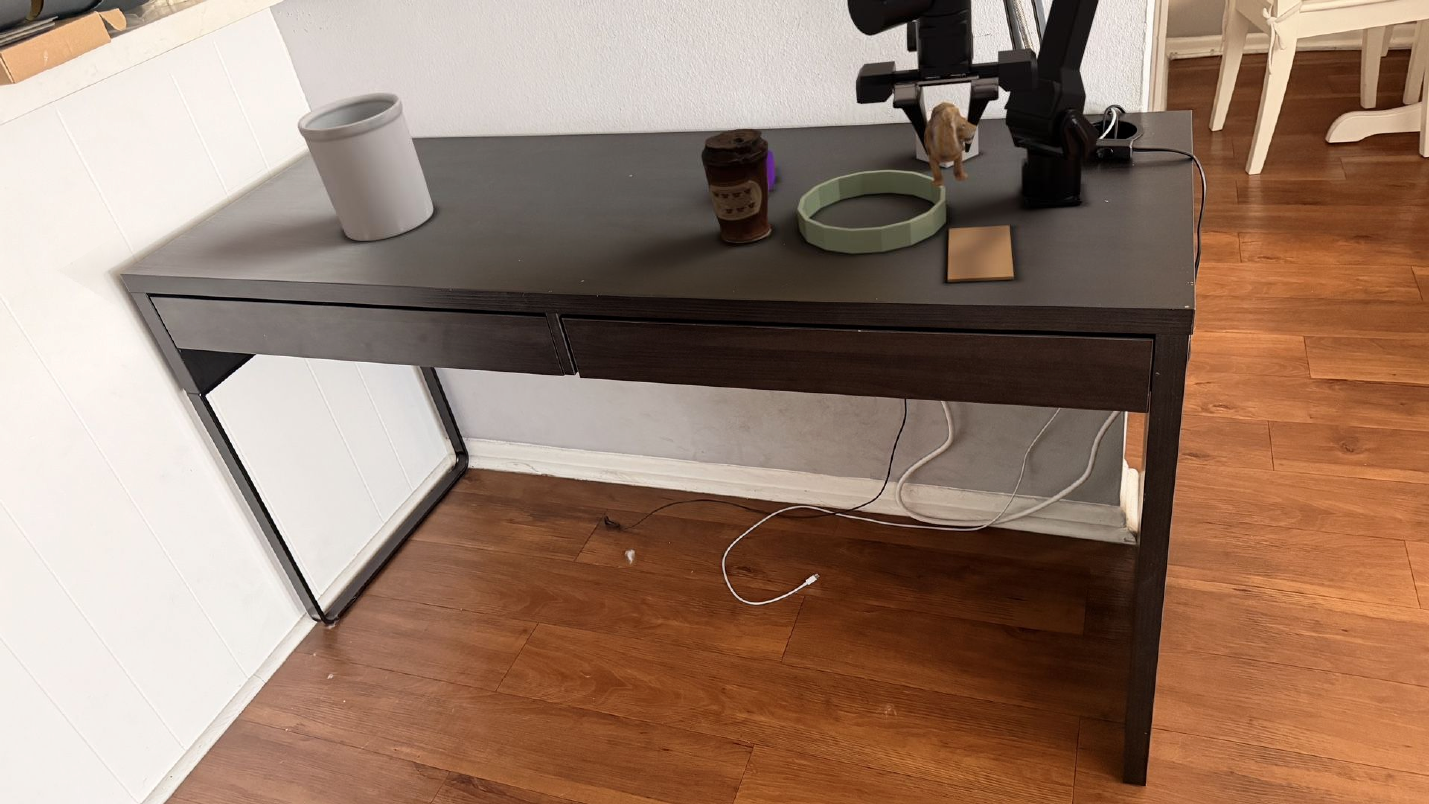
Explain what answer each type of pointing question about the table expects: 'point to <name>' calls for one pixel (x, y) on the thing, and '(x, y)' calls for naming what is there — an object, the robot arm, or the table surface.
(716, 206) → the coffee cup
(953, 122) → the lion figurine
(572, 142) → the table surface
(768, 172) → the crystal
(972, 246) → the cork mat
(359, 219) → the utensil holder
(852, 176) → the pale green faceted ring
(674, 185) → the table surface
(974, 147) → the white cube
